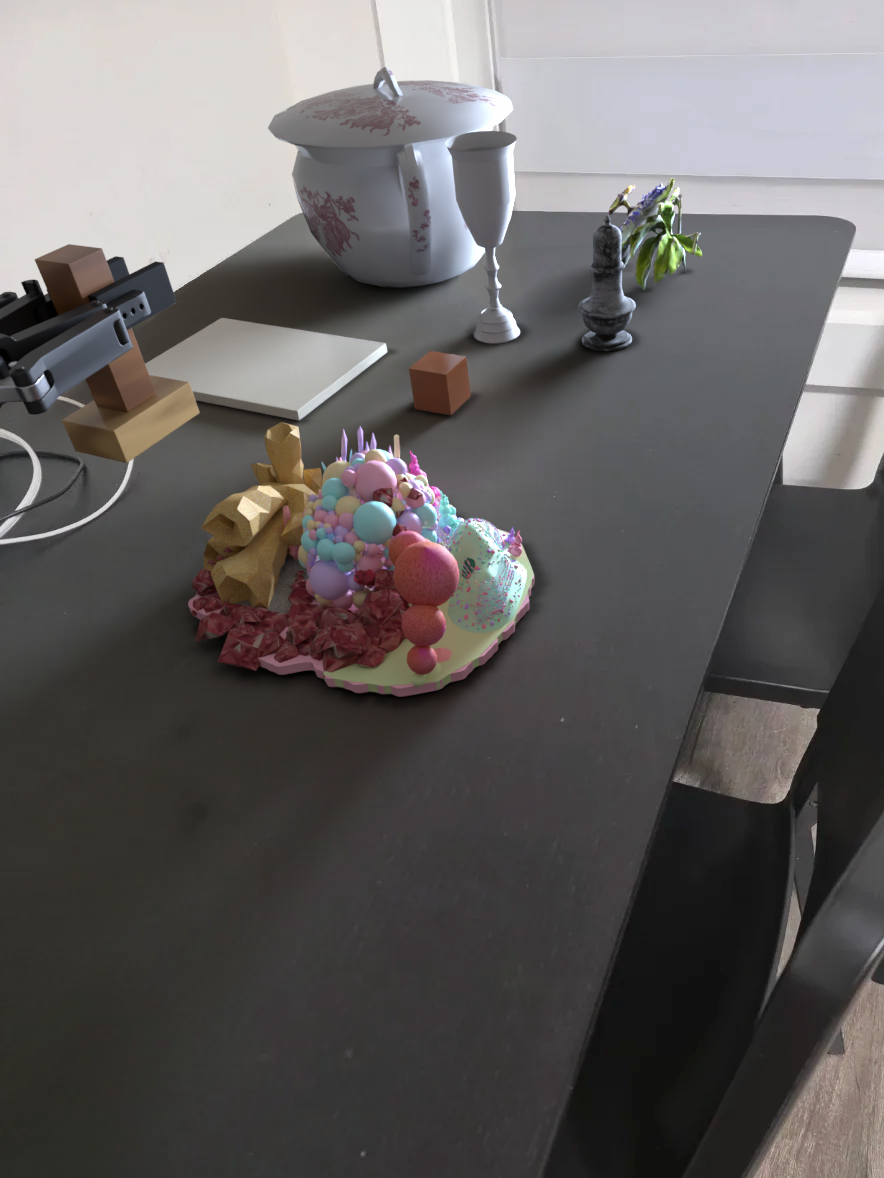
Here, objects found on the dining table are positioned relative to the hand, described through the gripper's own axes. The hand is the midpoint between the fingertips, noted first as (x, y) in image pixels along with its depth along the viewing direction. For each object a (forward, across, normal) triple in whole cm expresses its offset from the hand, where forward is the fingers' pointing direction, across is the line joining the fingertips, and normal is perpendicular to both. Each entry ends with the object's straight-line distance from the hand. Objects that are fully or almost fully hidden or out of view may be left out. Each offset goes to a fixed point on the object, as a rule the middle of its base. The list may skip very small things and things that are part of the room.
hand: (145, 279), depth 64 cm
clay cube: (+21, +10, -18) cm, 29 cm away
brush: (-5, 0, -9) cm, 11 cm away
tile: (+21, -12, -17) cm, 30 cm away
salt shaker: (+39, +20, -18) cm, 47 cm away
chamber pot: (+51, -11, -18) cm, 55 cm away
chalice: (+37, +8, -18) cm, 42 cm away
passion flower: (+59, +18, -18) cm, 64 cm away
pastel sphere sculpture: (-6, +19, -18) cm, 27 cm away
